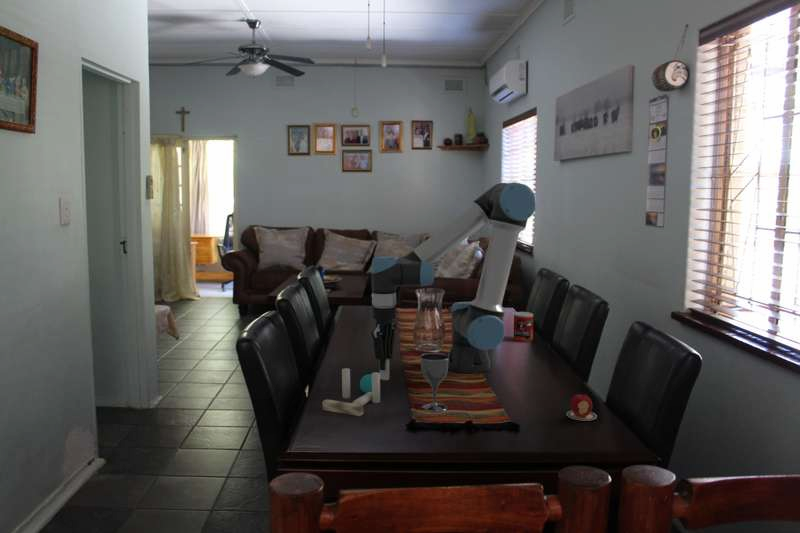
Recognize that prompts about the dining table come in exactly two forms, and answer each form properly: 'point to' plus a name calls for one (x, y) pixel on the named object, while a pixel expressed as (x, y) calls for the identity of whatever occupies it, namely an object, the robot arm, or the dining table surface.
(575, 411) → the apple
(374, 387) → the near back pin
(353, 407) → the backstop
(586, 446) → the dining table surface
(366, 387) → the ball
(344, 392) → the far back pin
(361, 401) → the front pin
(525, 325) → the canned food
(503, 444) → the dining table surface
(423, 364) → the wine glass
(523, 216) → the robot arm
